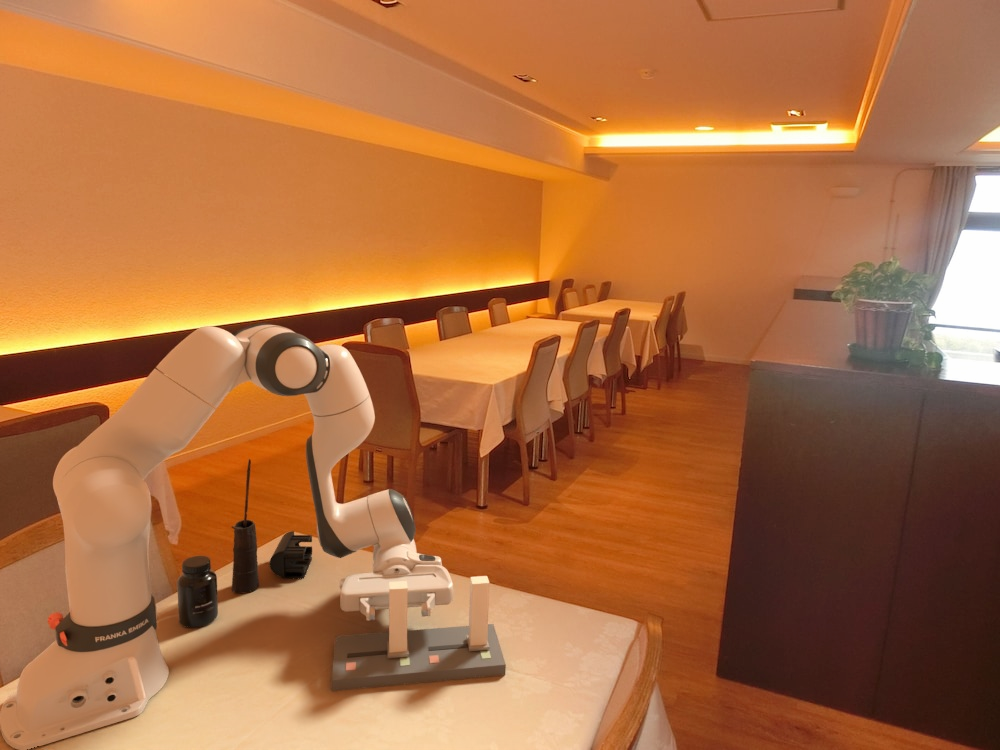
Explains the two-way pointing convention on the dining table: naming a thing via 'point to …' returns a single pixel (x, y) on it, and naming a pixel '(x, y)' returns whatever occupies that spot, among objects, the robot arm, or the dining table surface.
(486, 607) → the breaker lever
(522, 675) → the dining table surface
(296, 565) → the end cap
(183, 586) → the supplement bottle
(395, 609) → the breaker lever
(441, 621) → the dining table surface
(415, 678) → the breaker panel
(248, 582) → the butter churn
